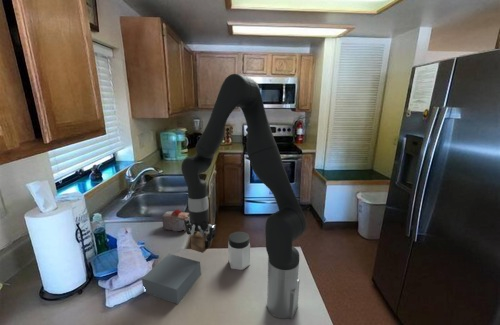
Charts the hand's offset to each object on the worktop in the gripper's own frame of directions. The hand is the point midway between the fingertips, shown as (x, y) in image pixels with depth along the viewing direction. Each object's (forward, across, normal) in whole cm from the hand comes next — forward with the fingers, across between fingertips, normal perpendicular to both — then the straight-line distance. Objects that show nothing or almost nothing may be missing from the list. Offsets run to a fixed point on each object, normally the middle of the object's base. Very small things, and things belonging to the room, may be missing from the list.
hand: (201, 245), depth 93 cm
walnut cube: (+1, 0, 0) cm, 1 cm away
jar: (+8, -14, -6) cm, 17 cm away
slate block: (+8, +2, +14) cm, 16 cm away
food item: (+7, +28, -16) cm, 33 cm away
